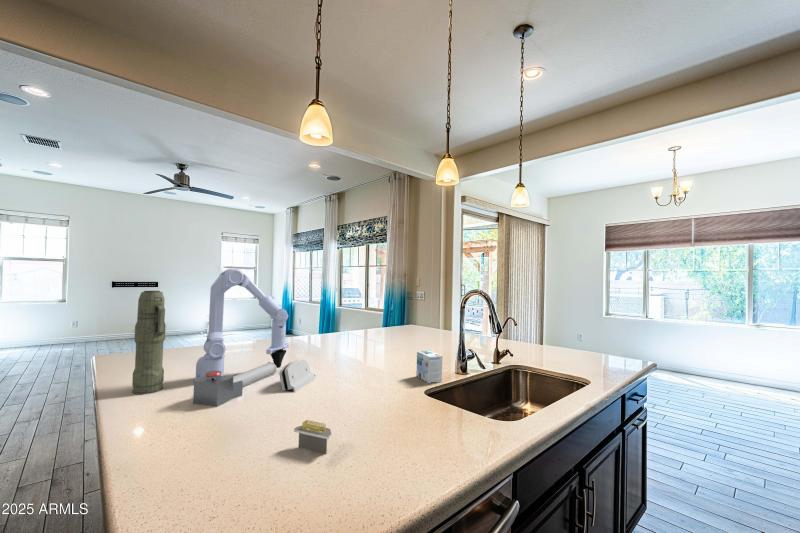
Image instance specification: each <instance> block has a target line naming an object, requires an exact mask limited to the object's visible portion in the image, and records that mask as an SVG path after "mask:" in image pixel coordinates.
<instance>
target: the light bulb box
mask: <svg viewBox="0 0 800 533" xmlns="http://www.w3.org/2000/svg"><path fill="white" fill-rule="evenodd" d="M415 373H416V374H415V376H416V377H417V376H418V377H417V378H418V379H420V378H421V379H420V380H422V379H423V380H424V381H423V380H422V381H423V382H425V381H426V382H427V383H426V382H425V383H426V384H432V383H431V382H437V383H442V382H443V355H442V354H439V353H438V352H434V351H433V350H417V352H416V372H415Z"/></svg>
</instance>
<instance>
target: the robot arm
mask: <svg viewBox="0 0 800 533" xmlns="http://www.w3.org/2000/svg"><path fill="white" fill-rule="evenodd" d="M235 286H239V287H243V288H245V289H246V290H247V291H248V292H249V293H250V294H252V296H253V297H255V298H256V299H257V300H258V305H259V306H260V308H262V310H264V312H266V313H267V314H268V315H269V317H270V319H271V323H272V324H271V344H270V346H269V347H268V348H266V352H265V353H266V355H270V357H271V359H272V363H274V364H275V365H276V369H279V368H282V363H283V360H284V356H285V355H286V353H287V350H286V349H287V348H289V347H290V343H289V342H286V335H287V331H286V330H287V329H286V328H287V325H286V324H287V320H288V318H289V314H288V312H287V310H286V309H285V308H282V307H283V306H282V304H278V302H277V301H276V300H275V297H274V296H271V295H270V294H267V295H266V294H264V292H263V291H262V290H261V289H260V288H259V287H258V286H257V285H256V284H255V282H253V281H252V280H251V278H250V277H249V276H247V275H246V274H245V273H243V272H242V271H241V270H240V269H238V268H234V269H233V268H228V269H226V270H223V271H222V272H220V274H219V276H218V277H217V278H216V279H215V280H214V282H213V283H212V285H211V286H210V292H209V295H210V296H209V313H208V314H209V316H208V331H207V334H206V340H205V342H204V344H203V350H204V352H205V354H204V355H203V356H201V357H199V358H198V360H197V361H196V364H195V379H194V380H193V382H194V381H195V380H198V379H200V378H203V377H206V376H205V373H207V372H210V371H221V375H220V376H225V375H224V374H225V353H226V350H227V347H226V345H225V343H224V334H223V329H224V327H223V326H224V325H223V324H224V307H225V293H226V292H228V290H230V289H231V288H233V287H235Z"/></svg>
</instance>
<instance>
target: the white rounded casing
mask: <svg viewBox="0 0 800 533" xmlns="http://www.w3.org/2000/svg"><path fill="white" fill-rule="evenodd" d="M278 375H279V381H280V383H281V384H280V385H281V390H282V392H285V391H287V390H293V392H294V393H297V392H298V391H300V390H301V389H302V388H304V387H306V386H307V385H309V384H311V383H312V382H314V381H315V380H316V376H315V374H313V373H312V372H311V370H310V366H309V363H308V361H307V360H305V359H297V360H294V361H291V362H288V363H287V364H285V365H284V366H283V367H281V369H280V370H279V372H278ZM314 379H315V380H314ZM313 380H314V381H313ZM311 381H312V382H311Z"/></svg>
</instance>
